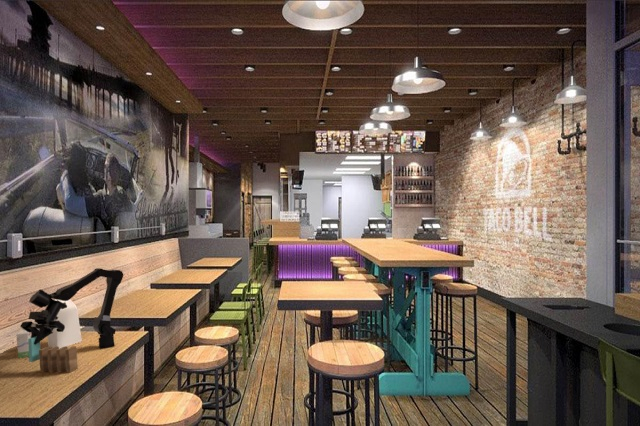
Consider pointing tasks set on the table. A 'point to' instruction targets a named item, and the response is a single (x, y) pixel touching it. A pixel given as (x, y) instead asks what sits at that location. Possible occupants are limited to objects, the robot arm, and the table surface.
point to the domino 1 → (33, 350)
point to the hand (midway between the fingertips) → (32, 344)
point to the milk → (66, 327)
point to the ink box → (23, 343)
